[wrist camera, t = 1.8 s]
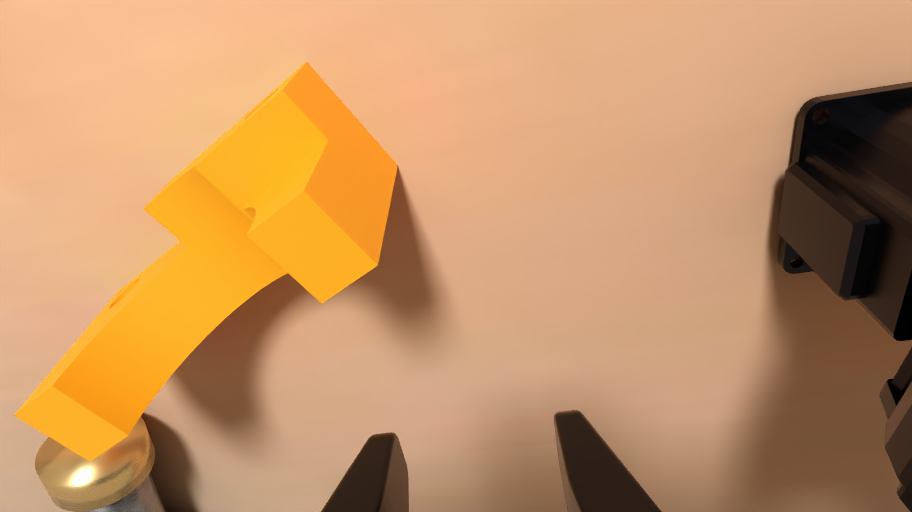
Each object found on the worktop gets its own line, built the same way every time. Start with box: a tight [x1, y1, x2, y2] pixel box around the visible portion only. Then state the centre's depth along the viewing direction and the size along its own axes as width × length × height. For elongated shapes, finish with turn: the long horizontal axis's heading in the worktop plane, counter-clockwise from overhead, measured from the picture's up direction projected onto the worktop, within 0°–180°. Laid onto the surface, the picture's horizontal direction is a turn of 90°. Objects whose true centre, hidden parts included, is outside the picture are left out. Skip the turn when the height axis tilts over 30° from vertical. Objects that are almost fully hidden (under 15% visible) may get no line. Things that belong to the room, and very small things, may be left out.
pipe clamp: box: [14, 62, 398, 461], centre depth 18 cm, size 12×4×6 cm, turn 127°
